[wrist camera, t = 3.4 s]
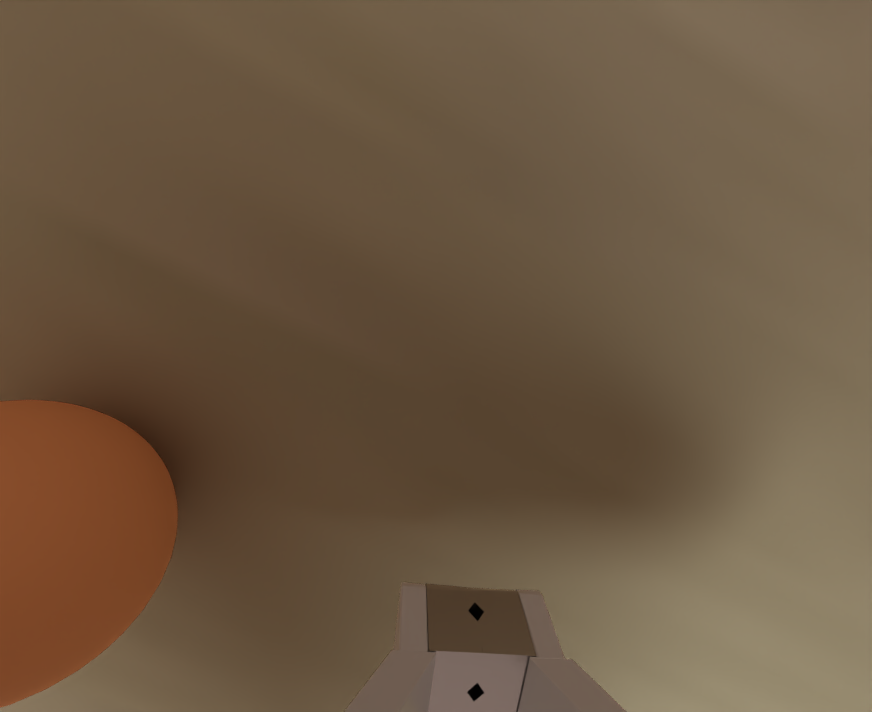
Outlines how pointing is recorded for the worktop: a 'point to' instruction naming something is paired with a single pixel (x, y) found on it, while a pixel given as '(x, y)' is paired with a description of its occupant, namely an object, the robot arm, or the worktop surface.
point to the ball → (74, 538)
